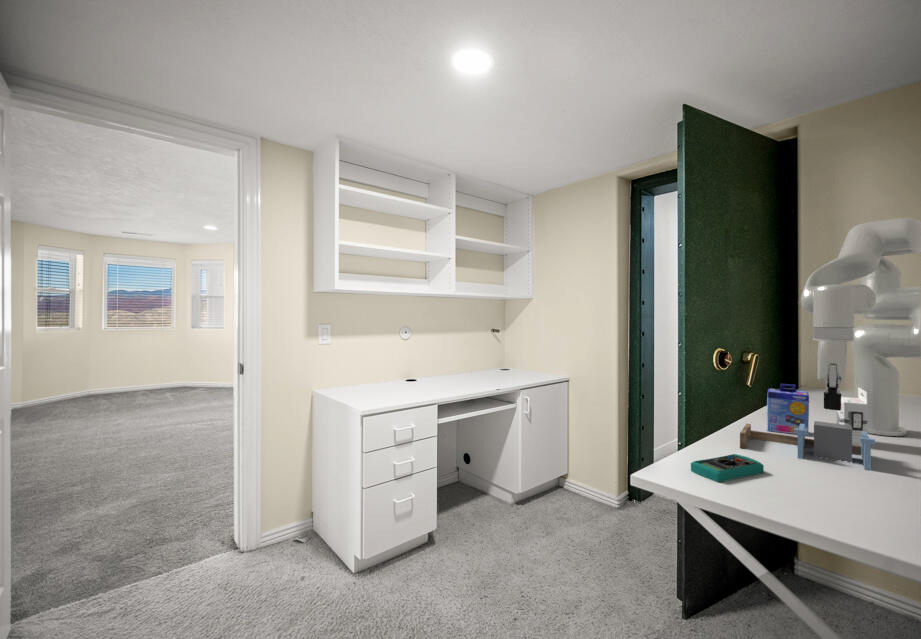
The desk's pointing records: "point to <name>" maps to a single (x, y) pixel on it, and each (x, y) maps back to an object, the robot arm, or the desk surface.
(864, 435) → the pair of blue brackets
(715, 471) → the digital multimeter
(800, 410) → the ink cartridge box
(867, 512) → the desk surface
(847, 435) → the charcoal plug
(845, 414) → the ink box
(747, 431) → the brown l-shaped bracket
